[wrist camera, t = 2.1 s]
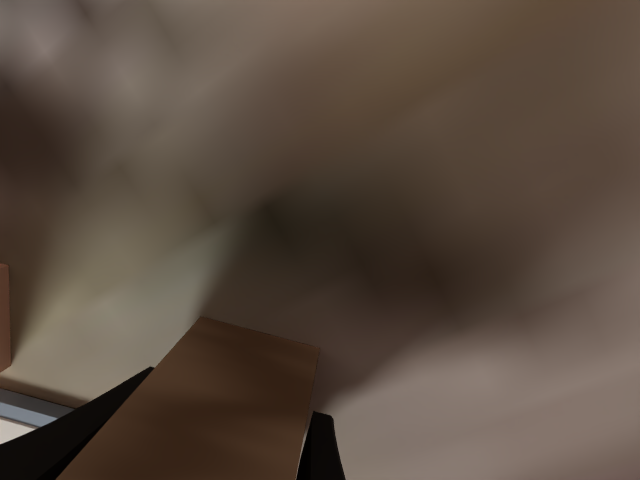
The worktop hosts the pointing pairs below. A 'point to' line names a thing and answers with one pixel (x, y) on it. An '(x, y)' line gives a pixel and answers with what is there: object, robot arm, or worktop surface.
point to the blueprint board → (25, 414)
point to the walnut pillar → (209, 412)
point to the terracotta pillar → (4, 318)
